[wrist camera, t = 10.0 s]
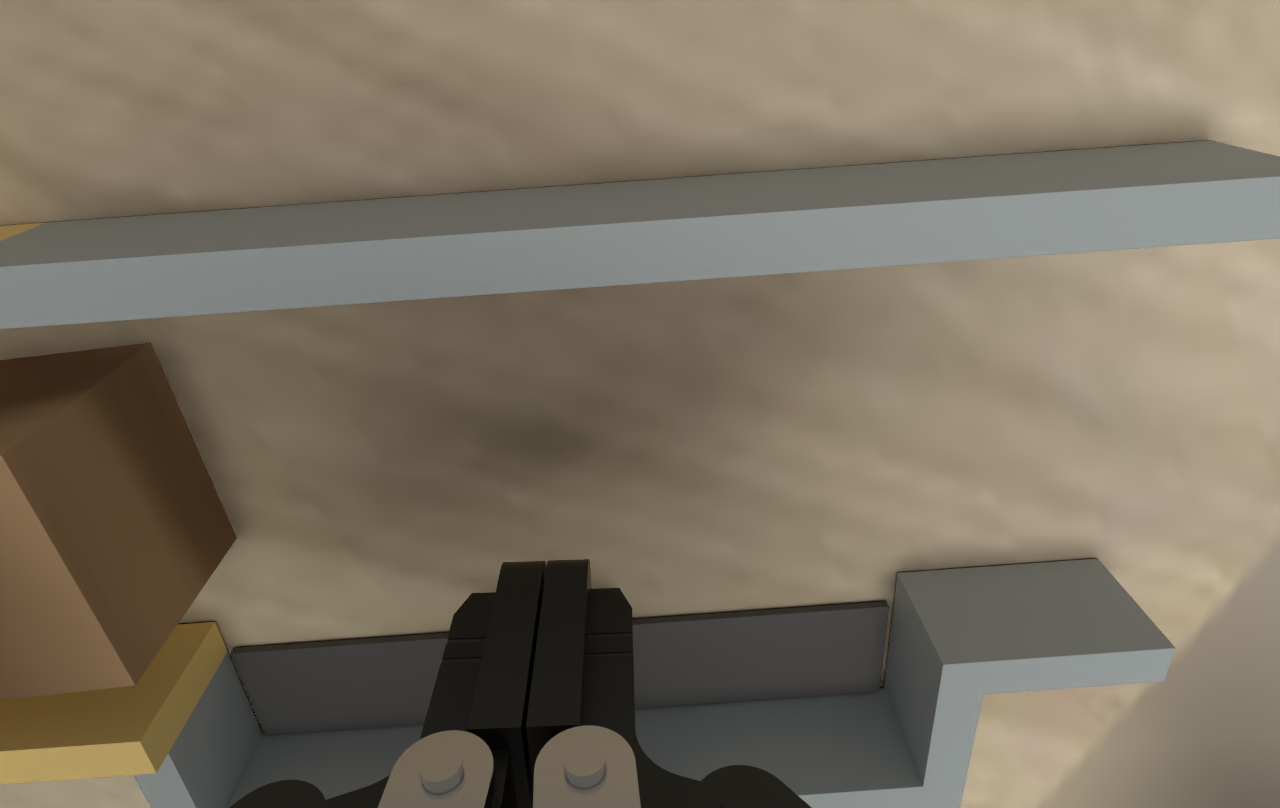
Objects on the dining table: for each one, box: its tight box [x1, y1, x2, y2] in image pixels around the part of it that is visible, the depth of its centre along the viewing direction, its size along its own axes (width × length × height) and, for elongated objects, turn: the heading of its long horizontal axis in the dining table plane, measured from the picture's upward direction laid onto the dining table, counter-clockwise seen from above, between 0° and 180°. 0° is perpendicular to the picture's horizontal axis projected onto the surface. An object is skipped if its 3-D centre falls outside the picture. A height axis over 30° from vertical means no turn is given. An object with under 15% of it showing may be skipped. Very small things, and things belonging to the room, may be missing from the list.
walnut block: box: [0, 343, 236, 700], centre depth 15 cm, size 5×5×4 cm
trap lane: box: [0, 140, 1280, 808], centre depth 17 cm, size 23×15×3 cm, turn 93°
